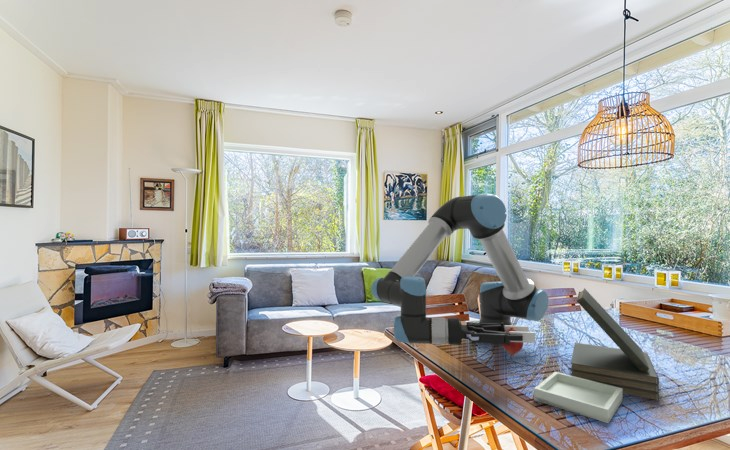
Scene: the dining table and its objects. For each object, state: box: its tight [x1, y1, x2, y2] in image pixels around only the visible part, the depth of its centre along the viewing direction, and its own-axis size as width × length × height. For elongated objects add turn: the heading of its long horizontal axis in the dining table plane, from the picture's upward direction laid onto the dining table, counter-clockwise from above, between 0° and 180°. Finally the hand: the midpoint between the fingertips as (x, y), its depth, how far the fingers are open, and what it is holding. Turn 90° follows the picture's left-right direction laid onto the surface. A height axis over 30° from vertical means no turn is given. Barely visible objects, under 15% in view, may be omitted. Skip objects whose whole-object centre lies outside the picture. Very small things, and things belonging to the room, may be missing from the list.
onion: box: [501, 327, 524, 356], centre depth 102 cm, size 6×6×8 cm
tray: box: [533, 371, 624, 424], centre depth 92 cm, size 16×16×3 cm
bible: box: [570, 287, 660, 402], centre depth 107 cm, size 23×20×25 cm
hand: (531, 334), depth 101 cm, fingers closed on onion, 6 cm apart
